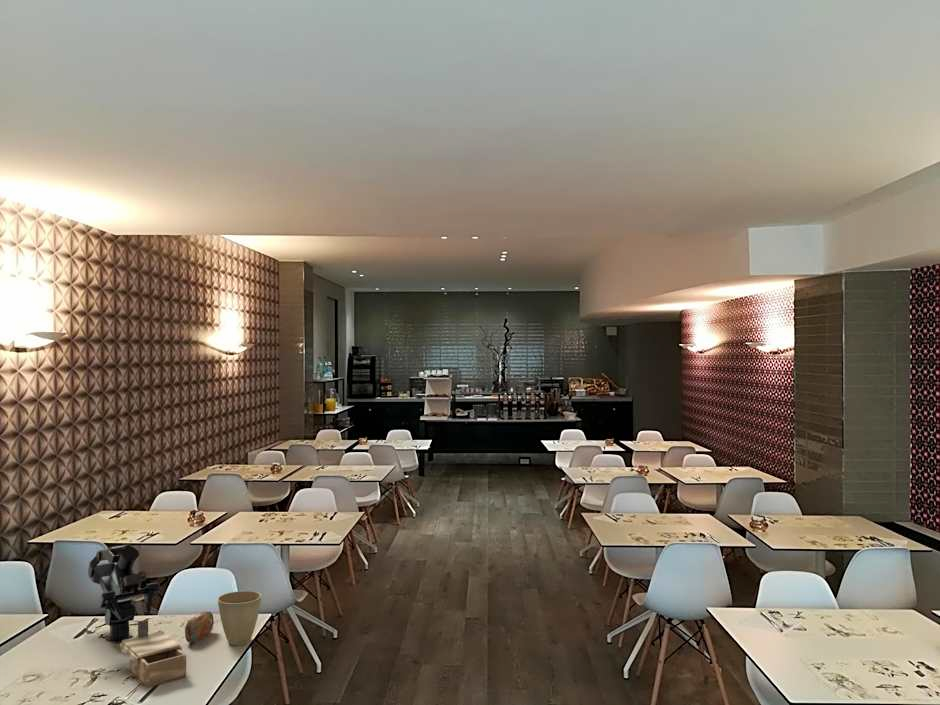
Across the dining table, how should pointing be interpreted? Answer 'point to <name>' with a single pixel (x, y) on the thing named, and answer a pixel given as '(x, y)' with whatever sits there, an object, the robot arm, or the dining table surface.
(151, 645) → the carton lid
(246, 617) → the plant pot
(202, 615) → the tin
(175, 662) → the carton
